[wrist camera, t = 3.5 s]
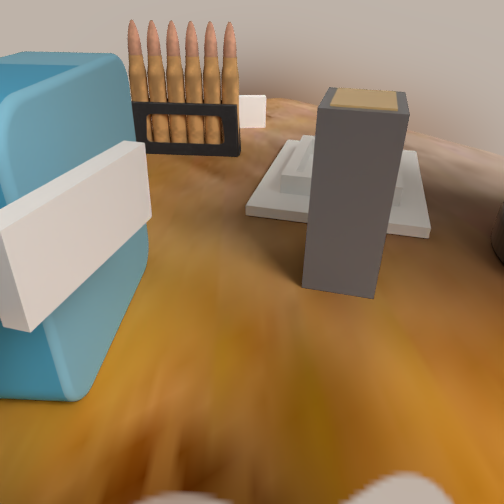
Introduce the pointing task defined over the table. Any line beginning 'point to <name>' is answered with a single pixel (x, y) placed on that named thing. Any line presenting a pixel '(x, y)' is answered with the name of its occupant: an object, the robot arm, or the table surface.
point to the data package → (43, 171)
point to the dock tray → (299, 184)
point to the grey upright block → (352, 188)
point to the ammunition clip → (158, 106)
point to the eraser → (252, 111)
